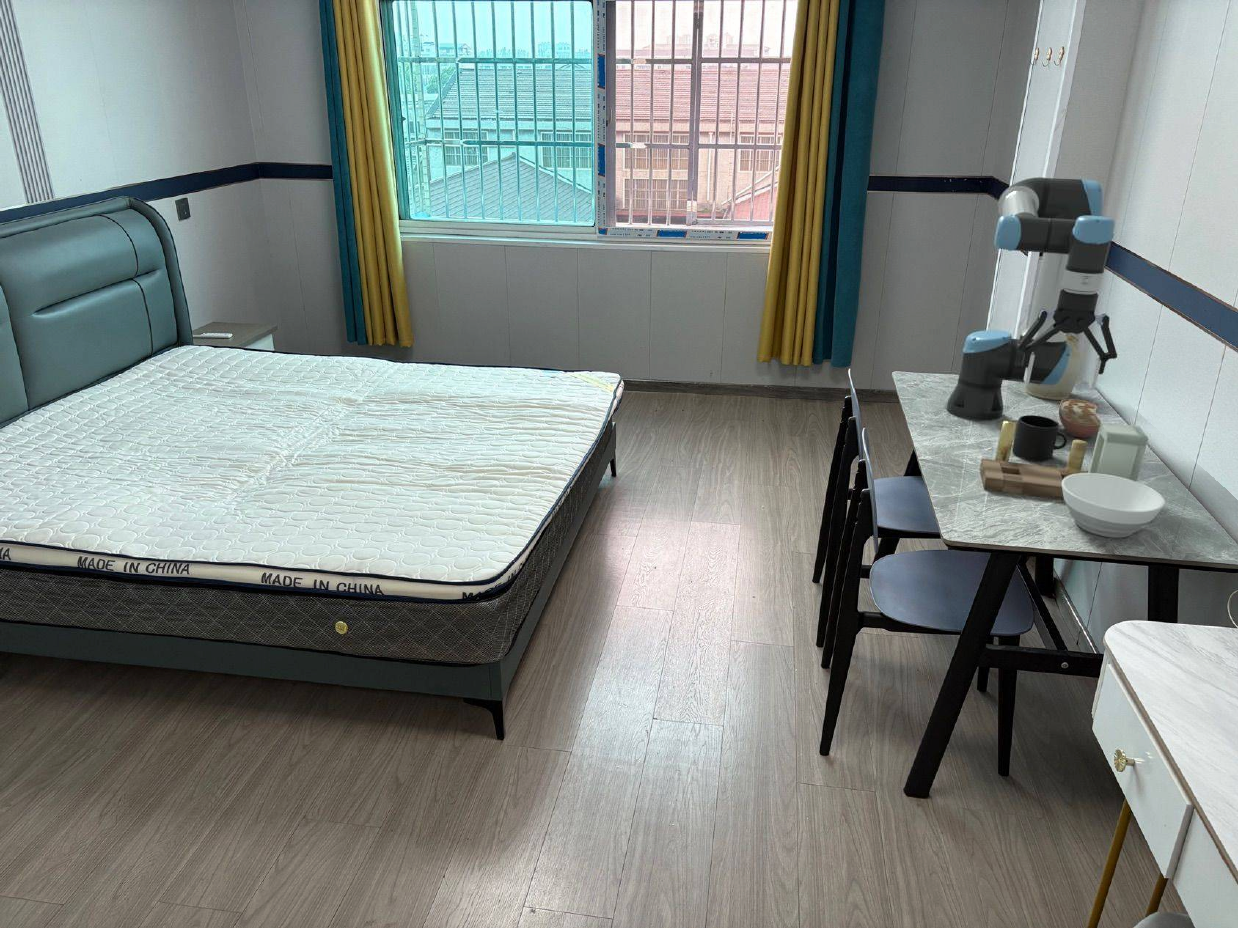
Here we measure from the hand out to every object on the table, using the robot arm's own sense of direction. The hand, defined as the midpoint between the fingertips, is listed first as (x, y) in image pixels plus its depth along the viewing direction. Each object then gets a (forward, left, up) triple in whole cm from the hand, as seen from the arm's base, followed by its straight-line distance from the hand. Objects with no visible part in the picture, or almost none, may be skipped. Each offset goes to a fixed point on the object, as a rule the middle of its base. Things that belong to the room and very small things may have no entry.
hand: (1058, 384), depth 202 cm
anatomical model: (-45, +16, -25) cm, 54 cm away
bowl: (+20, +11, -25) cm, 33 cm away
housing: (+2, +15, -21) cm, 26 cm away
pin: (-7, -7, -24) cm, 26 cm away
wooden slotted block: (+2, +3, -24) cm, 25 cm away
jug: (-75, +13, -25) cm, 80 cm away
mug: (-19, +3, -25) cm, 31 cm away
